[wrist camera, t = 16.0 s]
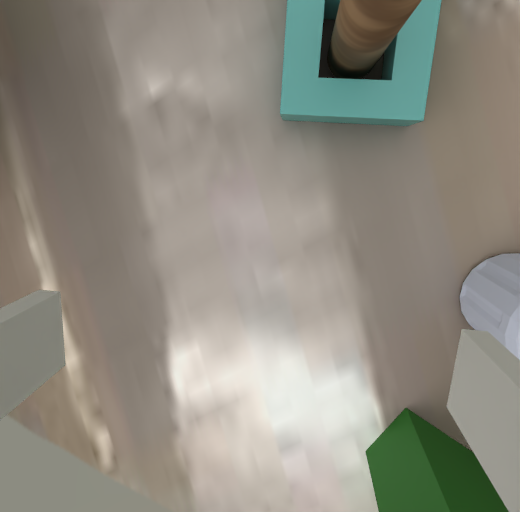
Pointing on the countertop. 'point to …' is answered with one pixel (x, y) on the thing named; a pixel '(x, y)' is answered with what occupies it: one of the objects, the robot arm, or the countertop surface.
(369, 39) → the dowel
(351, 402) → the countertop surface
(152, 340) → the countertop surface
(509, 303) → the soap bottle
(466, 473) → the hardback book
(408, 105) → the socket
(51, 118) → the countertop surface
